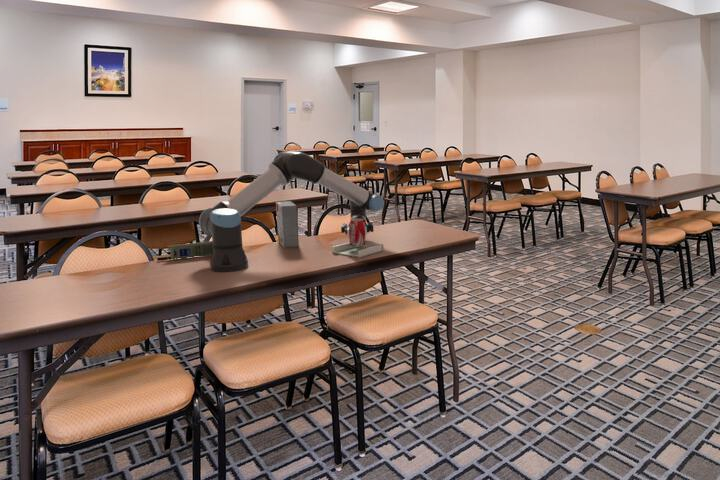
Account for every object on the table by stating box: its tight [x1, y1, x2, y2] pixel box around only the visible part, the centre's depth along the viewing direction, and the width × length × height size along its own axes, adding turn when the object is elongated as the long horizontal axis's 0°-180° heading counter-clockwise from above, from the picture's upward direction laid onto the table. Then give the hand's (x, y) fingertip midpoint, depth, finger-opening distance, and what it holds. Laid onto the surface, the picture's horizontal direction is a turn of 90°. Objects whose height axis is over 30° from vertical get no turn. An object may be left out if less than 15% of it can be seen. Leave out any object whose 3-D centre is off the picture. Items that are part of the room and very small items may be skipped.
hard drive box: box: [275, 200, 300, 249], centre depth 271 cm, size 16×8×20 cm, turn 17°
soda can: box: [348, 218, 366, 247], centre depth 249 cm, size 7×7×12 cm
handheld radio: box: [157, 240, 213, 261], centre depth 249 cm, size 7×3×25 cm
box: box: [331, 241, 384, 259], centre depth 251 cm, size 16×16×3 cm
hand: (357, 232), depth 244 cm, fingers closed on soda can, 7 cm apart
